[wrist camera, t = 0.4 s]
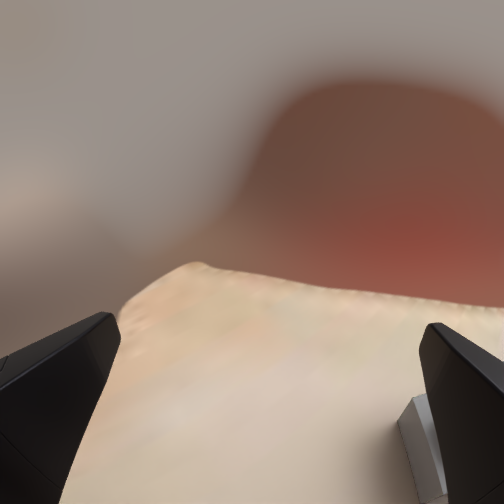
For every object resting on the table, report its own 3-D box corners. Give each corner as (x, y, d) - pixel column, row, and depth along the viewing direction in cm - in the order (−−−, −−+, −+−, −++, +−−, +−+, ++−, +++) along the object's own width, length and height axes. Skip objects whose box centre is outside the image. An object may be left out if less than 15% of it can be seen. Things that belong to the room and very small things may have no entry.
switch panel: (546, 428, 11) (570, 406, 9) (420, 504, 12) (443, 494, 10) (517, 369, 18) (535, 343, 16) (397, 420, 18) (412, 397, 16)
